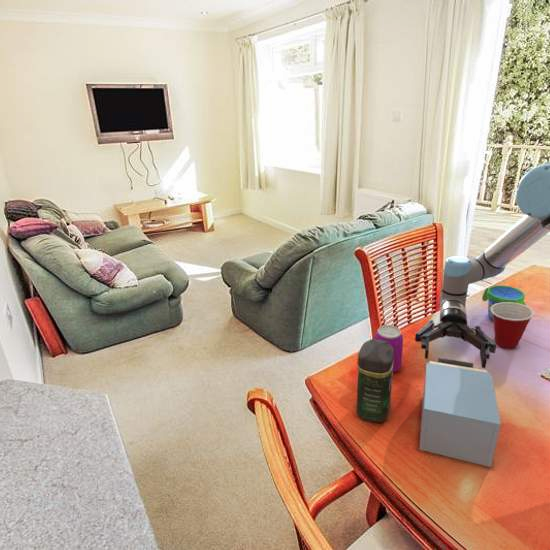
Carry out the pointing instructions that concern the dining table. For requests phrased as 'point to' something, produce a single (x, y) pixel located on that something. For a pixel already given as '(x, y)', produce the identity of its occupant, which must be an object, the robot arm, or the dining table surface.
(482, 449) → the cabinet
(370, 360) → the coffee jar
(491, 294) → the snack cup
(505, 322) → the plastic cup
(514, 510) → the dining table surface
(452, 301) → the robot arm
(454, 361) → the drawer
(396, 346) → the beverage can
